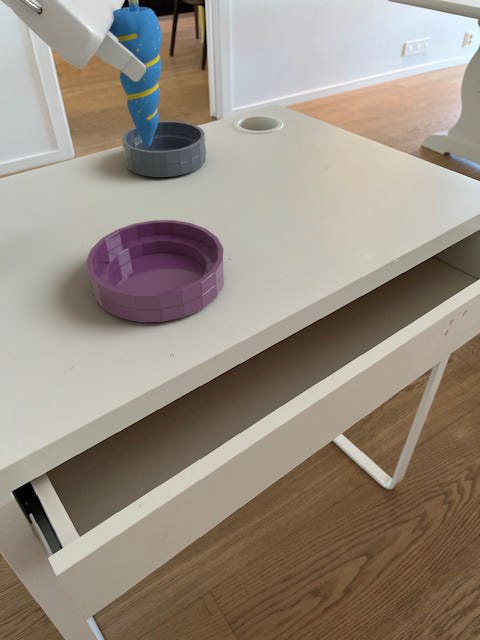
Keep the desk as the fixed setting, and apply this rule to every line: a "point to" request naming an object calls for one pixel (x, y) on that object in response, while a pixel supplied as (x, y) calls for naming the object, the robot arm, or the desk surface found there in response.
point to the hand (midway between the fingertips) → (144, 65)
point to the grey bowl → (166, 150)
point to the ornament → (145, 41)
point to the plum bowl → (156, 270)
